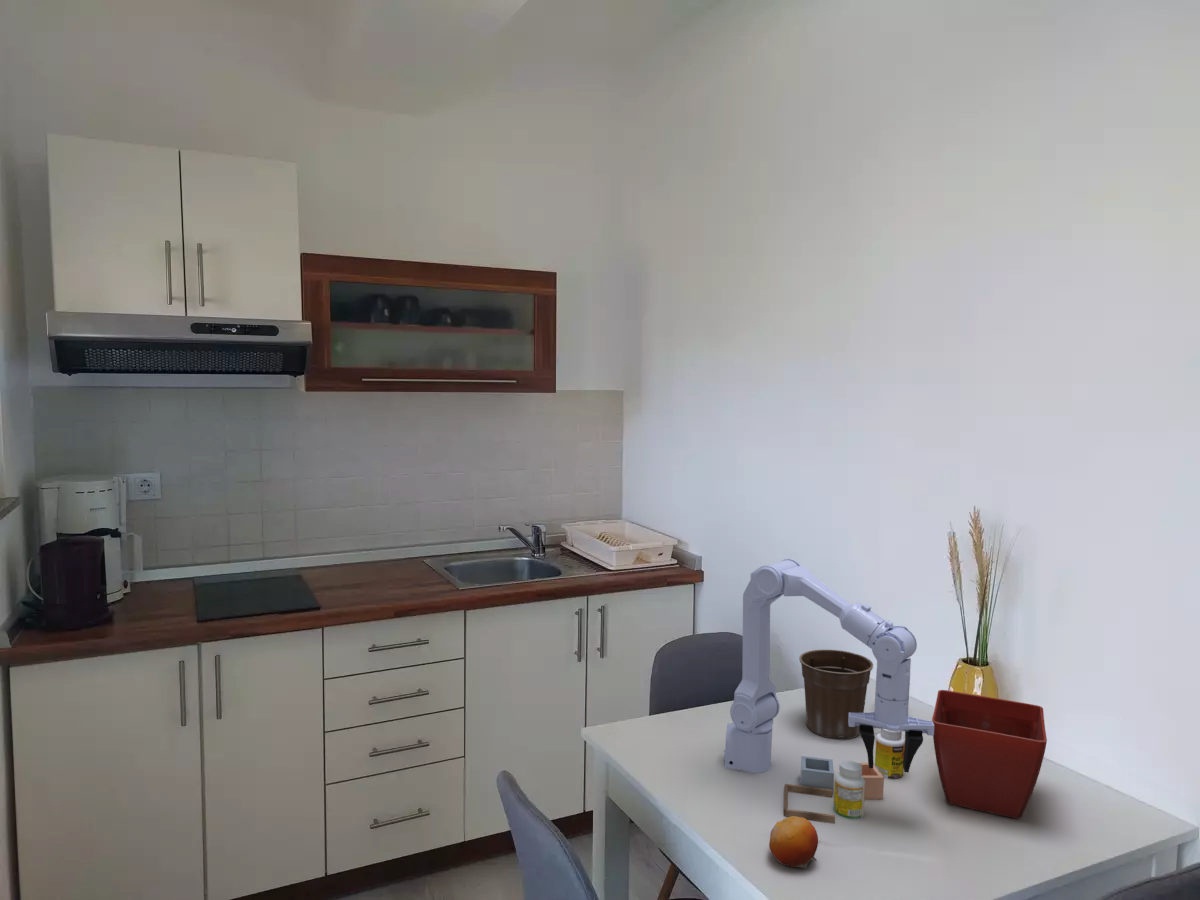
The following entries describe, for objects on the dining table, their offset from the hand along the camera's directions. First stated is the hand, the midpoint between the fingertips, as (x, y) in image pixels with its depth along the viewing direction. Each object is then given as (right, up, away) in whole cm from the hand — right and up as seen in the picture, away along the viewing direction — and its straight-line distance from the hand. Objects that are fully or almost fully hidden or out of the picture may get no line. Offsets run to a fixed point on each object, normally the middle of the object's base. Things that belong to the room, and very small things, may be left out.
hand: (888, 767), depth 150 cm
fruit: (-20, -11, -12) cm, 26 cm away
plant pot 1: (+1, -7, +40) cm, 41 cm away
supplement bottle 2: (+6, -9, +18) cm, 21 cm away
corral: (-13, -9, +4) cm, 17 cm away
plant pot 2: (+22, -10, +10) cm, 26 cm away
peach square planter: (-2, -9, +10) cm, 14 cm away
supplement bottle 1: (-7, -10, +2) cm, 12 cm away
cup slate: (-10, -9, +12) cm, 18 cm away
